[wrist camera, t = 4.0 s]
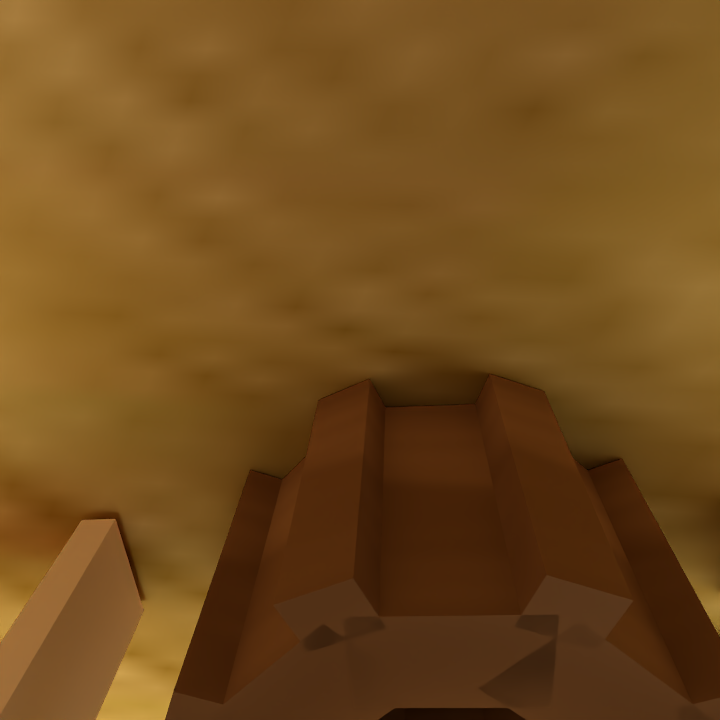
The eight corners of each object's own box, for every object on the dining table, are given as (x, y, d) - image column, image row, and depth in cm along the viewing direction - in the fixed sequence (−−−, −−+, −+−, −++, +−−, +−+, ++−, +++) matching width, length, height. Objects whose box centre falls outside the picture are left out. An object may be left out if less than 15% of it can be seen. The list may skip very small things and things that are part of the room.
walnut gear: (213, 385, 12) (106, 581, 8) (657, 366, 12) (823, 570, 7) (271, 676, 16) (222, 924, 11) (612, 675, 15) (702, 938, 11)
